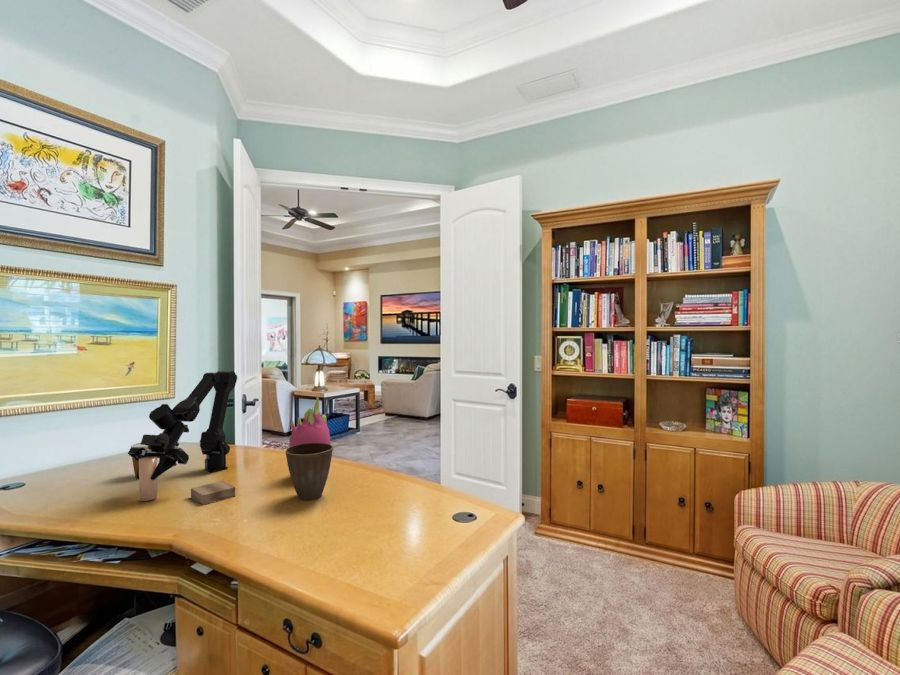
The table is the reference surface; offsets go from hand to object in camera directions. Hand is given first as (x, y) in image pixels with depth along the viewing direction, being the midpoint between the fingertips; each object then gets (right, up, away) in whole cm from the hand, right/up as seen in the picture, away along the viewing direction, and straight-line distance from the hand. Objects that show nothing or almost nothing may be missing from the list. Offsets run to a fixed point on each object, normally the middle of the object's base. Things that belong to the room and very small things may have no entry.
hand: (144, 479), depth 144 cm
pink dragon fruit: (+45, -7, +26) cm, 53 cm away
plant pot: (+52, -7, +4) cm, 52 cm away
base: (+20, -7, +4) cm, 22 cm away
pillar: (0, -7, +1) cm, 7 cm away
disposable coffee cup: (-18, -7, +26) cm, 33 cm away
